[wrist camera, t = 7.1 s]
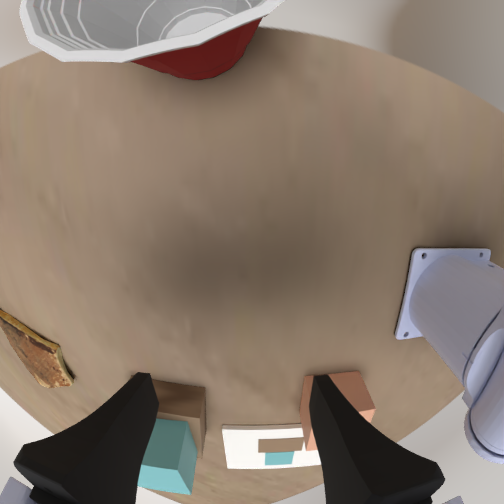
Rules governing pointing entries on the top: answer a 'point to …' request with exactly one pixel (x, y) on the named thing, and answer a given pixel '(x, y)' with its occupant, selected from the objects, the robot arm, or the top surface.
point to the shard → (36, 353)
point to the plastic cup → (147, 32)
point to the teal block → (169, 458)
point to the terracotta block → (352, 391)
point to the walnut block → (183, 408)
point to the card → (267, 447)
